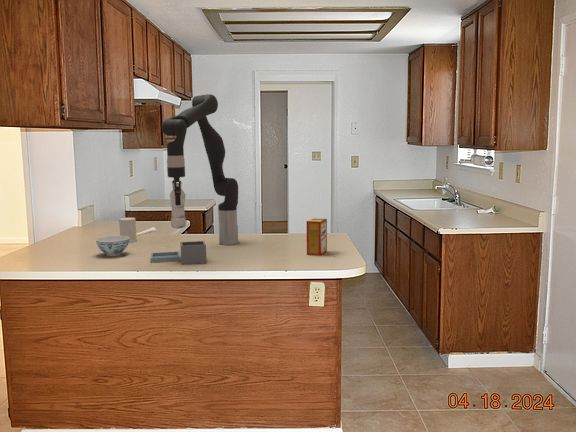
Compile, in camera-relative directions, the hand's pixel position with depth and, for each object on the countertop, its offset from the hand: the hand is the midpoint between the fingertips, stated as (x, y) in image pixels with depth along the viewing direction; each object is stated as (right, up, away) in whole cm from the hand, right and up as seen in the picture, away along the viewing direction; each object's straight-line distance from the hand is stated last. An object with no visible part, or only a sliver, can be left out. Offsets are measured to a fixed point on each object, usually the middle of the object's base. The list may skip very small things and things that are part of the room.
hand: (177, 204), depth 256 cm
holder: (+7, -25, +1) cm, 26 cm away
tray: (-7, -24, +6) cm, 26 cm away
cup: (-35, -19, +50) cm, 64 cm away
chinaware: (-33, -23, +17) cm, 44 cm away
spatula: (-33, -16, +69) cm, 78 cm away
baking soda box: (+62, -23, +15) cm, 67 cm away
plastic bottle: (0, -11, +2) cm, 11 cm away
